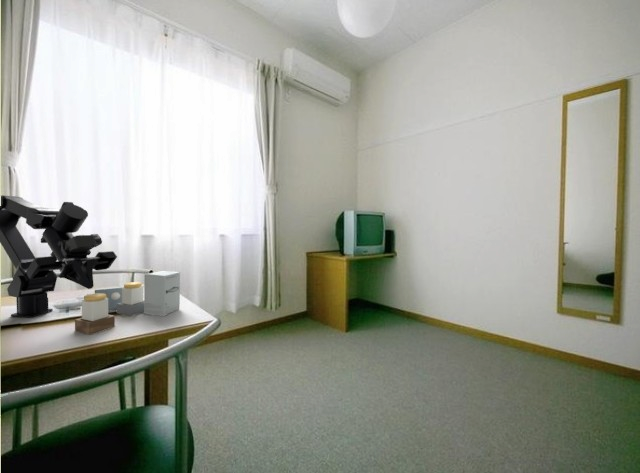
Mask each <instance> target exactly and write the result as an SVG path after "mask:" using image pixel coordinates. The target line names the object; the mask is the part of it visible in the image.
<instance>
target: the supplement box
mask: <svg viewBox="0 0 640 473" xmlns="http://www.w3.org/2000/svg"><path fill="white" fill-rule="evenodd" d="M180 293H181V272H180V271H171V270H170V271H169V270H160V271H155V272H150V273H145V274H144V285H143V300H144V312H143V314H145V315H151V316H157V317H165V316H166V315H169V314H170V313H173V312H176V311H178V310H179V309H180V295H181V294H180Z"/></svg>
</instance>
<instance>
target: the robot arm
mask: <svg viewBox="0 0 640 473" xmlns="http://www.w3.org/2000/svg"><path fill="white" fill-rule="evenodd" d="M0 196H1V206H0V245H1V247H2V248H3V250H4V251H5V253H6V255H7V257H8V258H9V259H10V261H11V263H12V265H13V267H14V268H15V270H14V273H13V276H12V280H11V282H10V284H9V285H8V287H7V288H6V291H7V295H8V296H9V297H13V298H15V299H16V312H15V313H10V317H15V318H16V317H17V318H18V317H20V318H34V317H37V316H40V315H44V314H47V313H49V312H52V311H53V308H49V297H48V292H54V291H55V288H56V284H57V279H58V278H60V279H65V280H68V281H71V282H73V283H75V284H76V285H77V284H78V285H80V286H81V287H83V288H86V289H88V290H90V289H93V288H94V273H93V272H94V271H93V270H95V271H105V270H108V269H110V268H111V266H112V265H113V264H114V263H115V261H116V260H117V258H118V255H116V253H115V251H111V250H108V251H97V253H96V254H95V256H91V257H90V256H89V255H91V253H92V251H91V250H92V249H94V248H97V247H98V246H100V245H102V243H103V240H102V238H101V236H100V235H99V234H98V233H91V234H86V235H84V234H81V235H75V236H74V233H76V232H78V231H79V230H80V228H81V227H82V226H83V225H84V223H85V221H86V220H87V218H88V216H89V213H88V211H87V210H86V209H84V208H83V207H81V206H79V205H76V204H74V202H72V201H63V202H62V204H61V207H60V208H59V209H58V208H51V207H50V208H49V207H42V206H40V205H37V204H35V203H32V202H31V201H29V200H26V199H24V198H23V197H20V196H16V195H0ZM21 218H23V219H25V224H27V225H28V226H29V227H30V228H32V229H33V230H44V231H43V232H42V236H41V238H40V243H41V244H47V245H48V246H49V248H50V249H51V251H52V252H51V253H50V255H49V256H39V257H36V256H35V255H34V253H33V251H32V250H31V248H30V247H29V245H28V243H27V242H26V240H25V239H24V237H23V236H22V234H21V232H20V231H19V228H18V227H17V224H18V222H19V220H20V219H21ZM88 256H89V257H88ZM55 271H59V272H60V273H59V275H58V277H57V273H56V272H55Z"/></svg>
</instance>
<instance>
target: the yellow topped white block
mask: <svg viewBox="0 0 640 473" xmlns="http://www.w3.org/2000/svg"><path fill="white" fill-rule="evenodd" d="M142 284H143V283H142V282H140V281H133V282H132V281H131V282H126V283H124V284H123V286H121V287H122V303H123V304H128V305H133V304H137V303H140V302H143V300H144V285H142Z"/></svg>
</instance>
